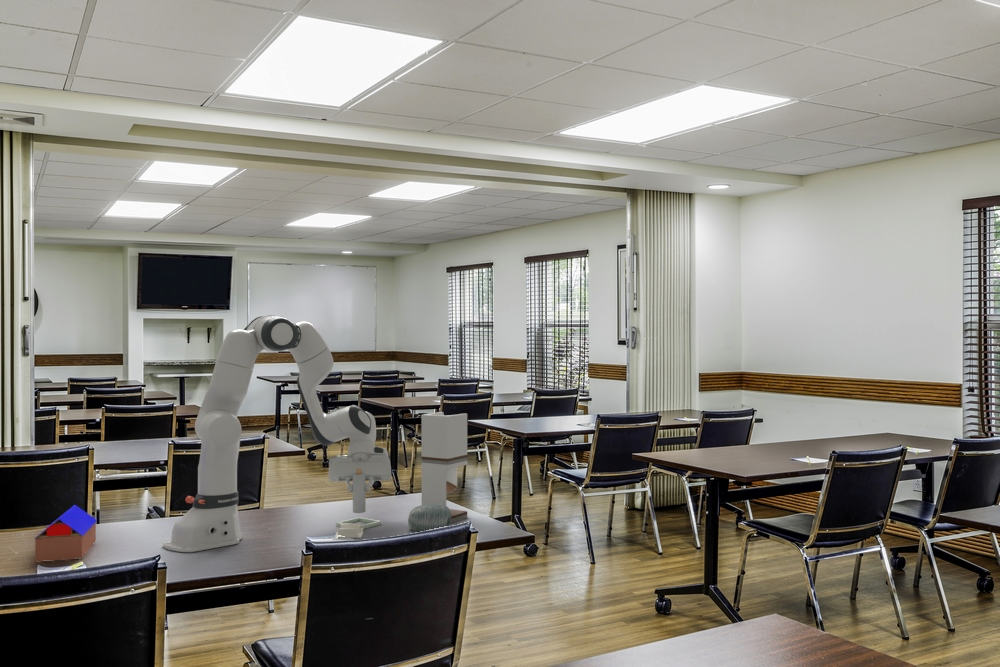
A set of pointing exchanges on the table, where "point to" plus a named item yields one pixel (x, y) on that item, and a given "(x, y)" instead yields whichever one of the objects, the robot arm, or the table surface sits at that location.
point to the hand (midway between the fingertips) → (358, 490)
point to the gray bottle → (359, 492)
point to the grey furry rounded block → (429, 517)
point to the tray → (370, 521)
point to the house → (66, 536)
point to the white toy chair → (350, 530)
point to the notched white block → (442, 457)
